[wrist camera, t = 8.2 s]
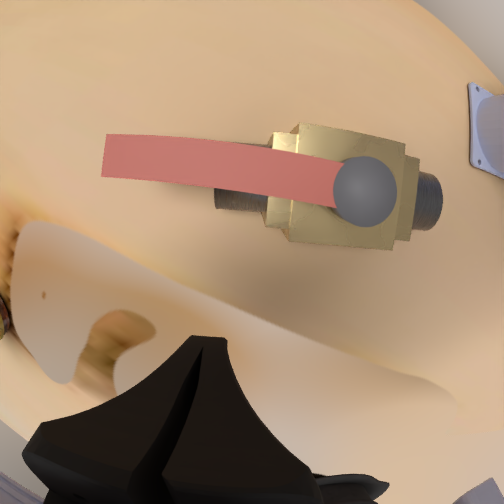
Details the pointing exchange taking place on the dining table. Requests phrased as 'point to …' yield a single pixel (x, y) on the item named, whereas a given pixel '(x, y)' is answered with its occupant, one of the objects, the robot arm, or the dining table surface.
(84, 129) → the dining table surface
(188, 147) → the lever
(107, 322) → the dining table surface
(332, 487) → the casserole
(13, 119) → the dining table surface
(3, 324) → the sauce bottle
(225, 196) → the valve fixture
